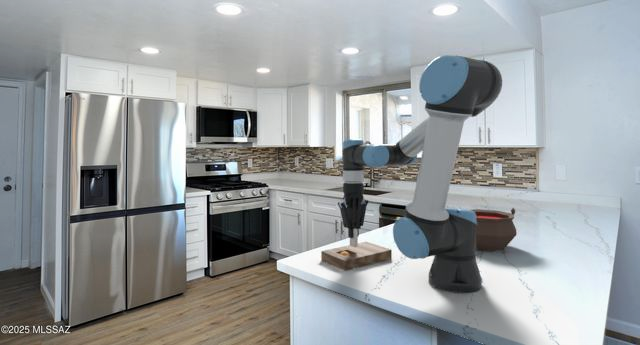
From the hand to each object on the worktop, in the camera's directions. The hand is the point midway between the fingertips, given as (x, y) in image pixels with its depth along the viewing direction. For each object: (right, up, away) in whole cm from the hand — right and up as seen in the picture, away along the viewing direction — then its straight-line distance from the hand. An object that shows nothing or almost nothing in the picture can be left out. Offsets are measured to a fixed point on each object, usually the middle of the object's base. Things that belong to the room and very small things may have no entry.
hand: (353, 246), depth 131 cm
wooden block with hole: (+1, -5, +1) cm, 6 cm away
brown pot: (+56, -4, +17) cm, 59 cm away
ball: (-3, -4, -2) cm, 5 cm away
